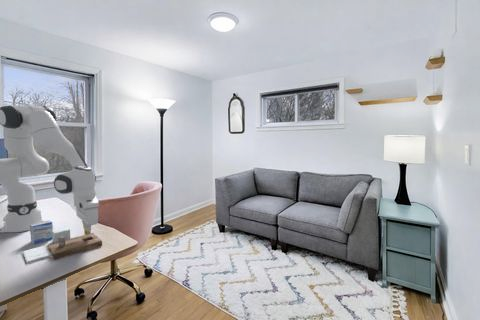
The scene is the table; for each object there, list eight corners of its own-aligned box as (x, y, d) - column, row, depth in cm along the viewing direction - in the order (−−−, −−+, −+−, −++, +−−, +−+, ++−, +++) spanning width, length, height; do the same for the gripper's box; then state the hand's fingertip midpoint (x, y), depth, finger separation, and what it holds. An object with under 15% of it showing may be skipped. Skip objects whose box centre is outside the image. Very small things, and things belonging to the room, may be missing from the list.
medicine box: (33, 244, 113) (31, 226, 112) (30, 241, 116) (29, 224, 115) (53, 238, 120) (52, 221, 119) (50, 236, 122) (49, 219, 121)
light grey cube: (55, 245, 112) (54, 233, 111) (52, 241, 116) (51, 229, 115) (70, 241, 116) (69, 229, 116) (67, 237, 120) (66, 226, 120)
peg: (83, 233, 113) (83, 221, 113) (89, 232, 115) (88, 220, 114) (85, 235, 112) (84, 222, 111) (91, 233, 113) (90, 221, 113)
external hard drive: (46, 248, 111) (52, 257, 102) (22, 254, 105) (27, 265, 96) (46, 244, 110) (52, 253, 102) (22, 251, 104) (26, 261, 96)
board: (48, 249, 108) (47, 235, 107) (93, 237, 121) (92, 225, 121) (54, 259, 99) (53, 244, 99) (102, 245, 112) (101, 232, 112)
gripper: (71, 198, 116) (73, 225, 118) (83, 206, 103) (85, 237, 104) (86, 195, 121) (88, 222, 122) (100, 203, 107) (101, 233, 109)
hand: (87, 229), depth 113 cm, fingers closed on peg, 2 cm apart
